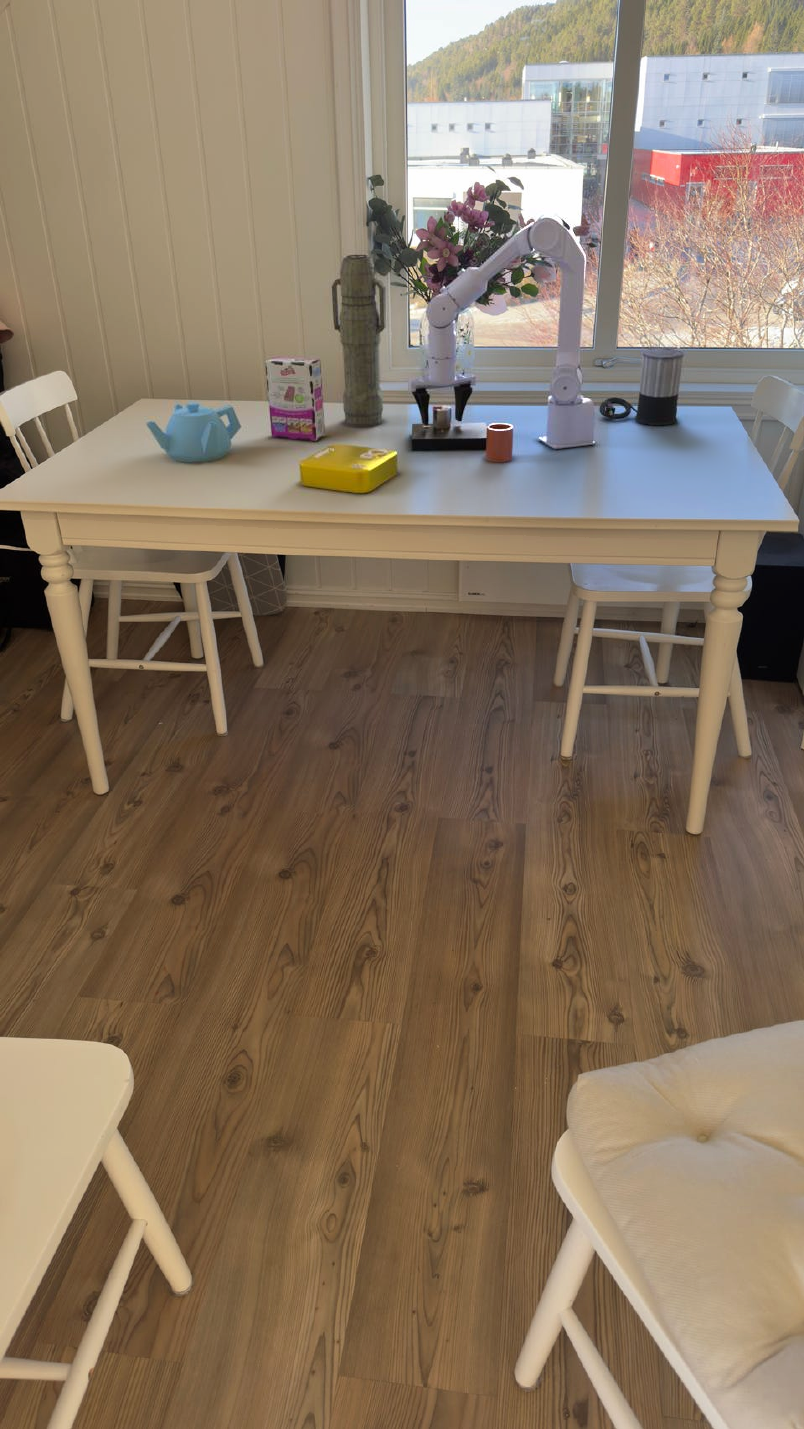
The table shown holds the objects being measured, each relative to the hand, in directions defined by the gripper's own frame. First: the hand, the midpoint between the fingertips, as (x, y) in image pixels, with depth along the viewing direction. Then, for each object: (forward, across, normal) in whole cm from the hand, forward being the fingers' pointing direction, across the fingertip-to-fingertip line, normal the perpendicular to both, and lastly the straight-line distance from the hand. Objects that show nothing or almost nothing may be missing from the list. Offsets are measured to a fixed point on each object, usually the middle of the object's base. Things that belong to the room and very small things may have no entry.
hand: (441, 422), depth 220 cm
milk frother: (+4, -46, +3) cm, 47 cm away
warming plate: (+3, 0, +3) cm, 5 cm away
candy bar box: (+4, +29, -14) cm, 32 cm away
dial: (+1, 0, 0) cm, 1 cm away
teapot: (+4, +52, -9) cm, 52 cm away
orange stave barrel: (+3, -5, +18) cm, 19 cm away
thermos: (+4, +12, -20) cm, 23 cm away
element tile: (+4, +27, +19) cm, 33 cm away
